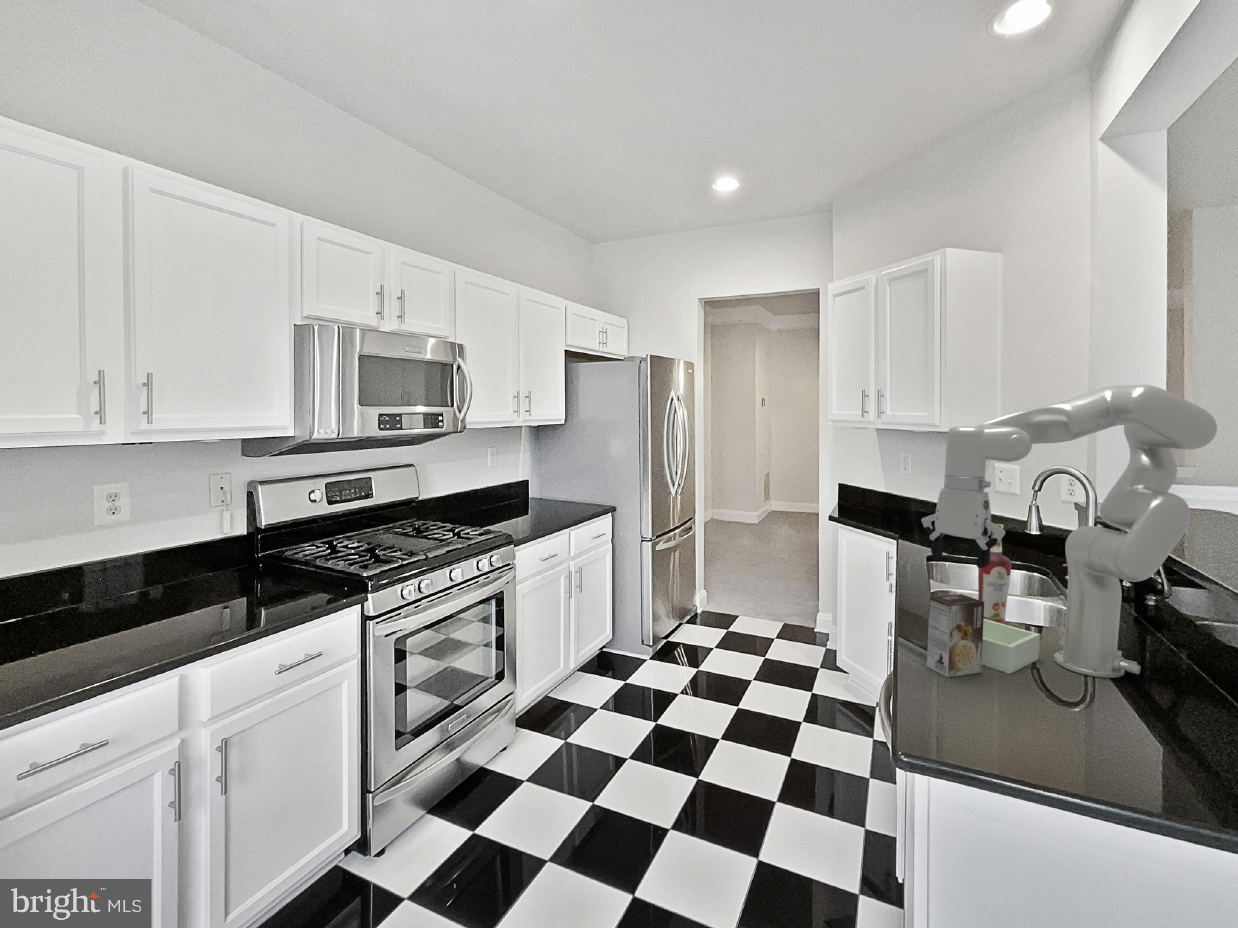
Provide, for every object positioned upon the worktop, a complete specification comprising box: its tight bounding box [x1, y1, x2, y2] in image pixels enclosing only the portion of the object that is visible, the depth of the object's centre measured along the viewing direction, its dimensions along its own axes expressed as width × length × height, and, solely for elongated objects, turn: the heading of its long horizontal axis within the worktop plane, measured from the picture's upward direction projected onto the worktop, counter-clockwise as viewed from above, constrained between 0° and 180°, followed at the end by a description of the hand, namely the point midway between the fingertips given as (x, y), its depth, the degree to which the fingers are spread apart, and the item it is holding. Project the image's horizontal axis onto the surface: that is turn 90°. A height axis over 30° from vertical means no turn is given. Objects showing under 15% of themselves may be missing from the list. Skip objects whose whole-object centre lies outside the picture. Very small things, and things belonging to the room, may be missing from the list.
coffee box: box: [926, 593, 985, 678], centre depth 136 cm, size 9×6×16 cm
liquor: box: [977, 523, 1013, 625], centre depth 159 cm, size 7×7×28 cm
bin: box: [981, 619, 1041, 675], centre depth 146 cm, size 18×14×6 cm
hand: (959, 562), depth 135 cm, fingers open, 9 cm apart
